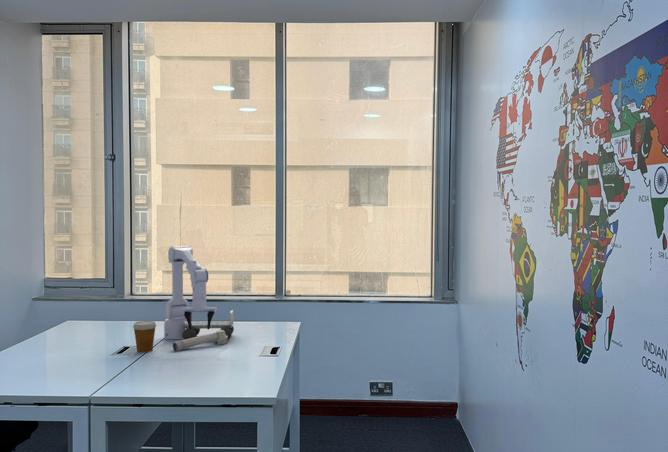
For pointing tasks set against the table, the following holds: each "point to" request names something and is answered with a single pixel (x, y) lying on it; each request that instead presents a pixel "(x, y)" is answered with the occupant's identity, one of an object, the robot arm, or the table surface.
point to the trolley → (203, 325)
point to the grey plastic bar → (201, 340)
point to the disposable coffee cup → (144, 335)
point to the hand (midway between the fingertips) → (199, 329)
